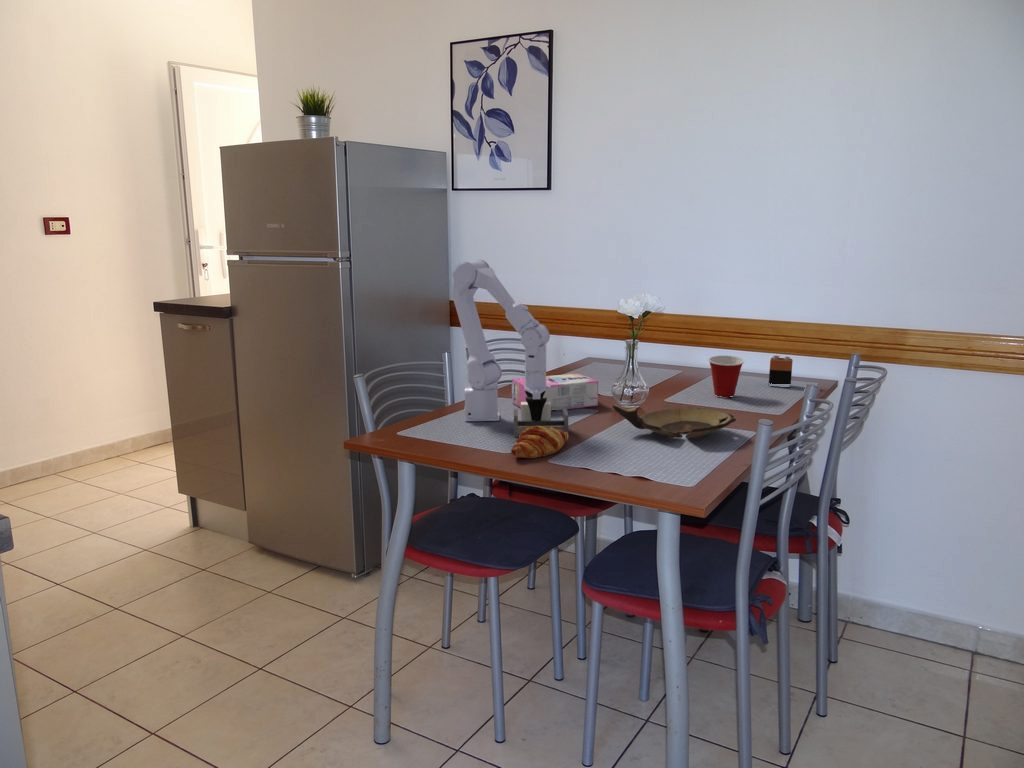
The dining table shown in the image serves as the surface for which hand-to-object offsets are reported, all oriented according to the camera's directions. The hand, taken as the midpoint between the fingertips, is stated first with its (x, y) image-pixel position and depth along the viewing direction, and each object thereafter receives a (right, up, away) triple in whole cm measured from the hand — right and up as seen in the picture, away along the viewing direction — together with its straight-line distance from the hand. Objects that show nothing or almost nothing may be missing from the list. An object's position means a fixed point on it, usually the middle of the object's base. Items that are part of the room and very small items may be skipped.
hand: (535, 419), depth 214 cm
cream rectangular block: (0, -2, 0) cm, 2 cm away
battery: (+82, +9, +44) cm, 94 cm away
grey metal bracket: (+1, -3, -8) cm, 9 cm away
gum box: (+9, +6, +14) cm, 18 cm away
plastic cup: (+60, +6, +31) cm, 68 cm away
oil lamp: (+36, -4, -9) cm, 37 cm away
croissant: (+1, -7, -24) cm, 25 cm away
